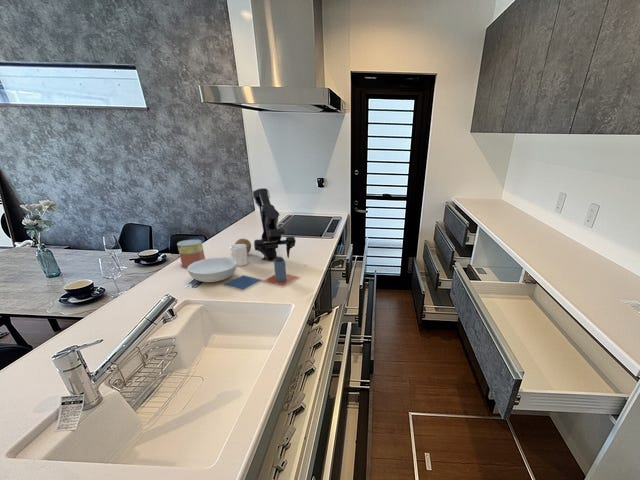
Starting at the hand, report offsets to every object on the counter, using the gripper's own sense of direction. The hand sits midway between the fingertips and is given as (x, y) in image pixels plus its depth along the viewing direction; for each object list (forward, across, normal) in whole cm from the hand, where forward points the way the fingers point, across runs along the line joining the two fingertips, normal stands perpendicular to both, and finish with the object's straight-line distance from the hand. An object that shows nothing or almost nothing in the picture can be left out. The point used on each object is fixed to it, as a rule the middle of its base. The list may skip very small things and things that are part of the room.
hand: (278, 259), depth 142 cm
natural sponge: (-23, -13, +38) cm, 46 cm away
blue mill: (+9, 0, +5) cm, 10 cm away
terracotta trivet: (+8, 0, +7) cm, 10 cm away
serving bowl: (-2, -28, +17) cm, 33 cm away
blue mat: (+6, -17, +9) cm, 20 cm away
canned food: (-19, -39, +34) cm, 55 cm away
